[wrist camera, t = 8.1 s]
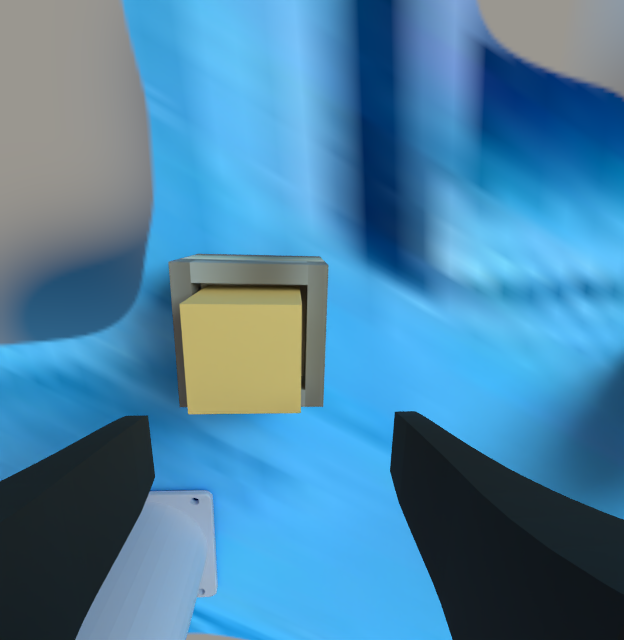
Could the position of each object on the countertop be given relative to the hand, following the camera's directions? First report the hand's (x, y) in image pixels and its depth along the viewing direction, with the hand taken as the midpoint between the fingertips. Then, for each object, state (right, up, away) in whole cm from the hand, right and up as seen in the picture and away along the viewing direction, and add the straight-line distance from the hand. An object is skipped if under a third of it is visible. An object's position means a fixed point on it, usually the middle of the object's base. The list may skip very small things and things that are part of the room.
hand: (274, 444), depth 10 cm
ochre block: (-2, +3, +6) cm, 7 cm away
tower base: (-2, +4, +9) cm, 10 cm away
